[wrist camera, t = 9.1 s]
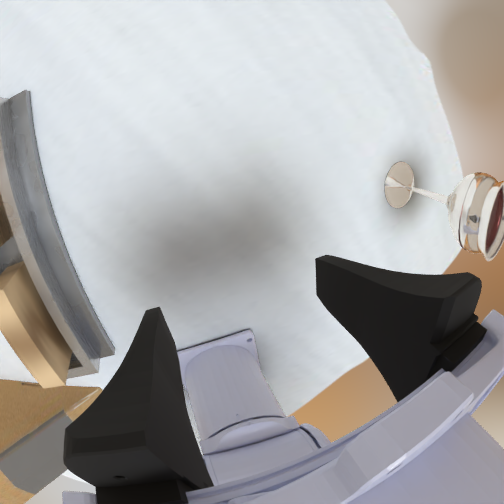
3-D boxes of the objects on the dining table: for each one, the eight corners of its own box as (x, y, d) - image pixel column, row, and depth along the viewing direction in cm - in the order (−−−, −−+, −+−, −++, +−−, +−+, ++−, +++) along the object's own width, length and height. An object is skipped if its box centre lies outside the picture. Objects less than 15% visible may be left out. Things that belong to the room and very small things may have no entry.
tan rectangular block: (73, 347, 19) (65, 385, 15) (53, 351, 18) (43, 388, 14) (27, 259, 15) (2, 289, 11) (6, 267, 14) (-19, 297, 10)
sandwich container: (121, 427, 25) (137, 536, 12) (21, 419, 20) (12, 513, 7) (102, 384, 22) (108, 522, 9) (-9, 375, 17) (-35, 482, 4)
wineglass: (396, 140, 22) (504, 162, 12) (425, 175, 26) (515, 205, 15) (368, 197, 24) (477, 243, 13) (402, 226, 27) (490, 272, 17)
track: (114, 348, 21) (112, 394, 16) (41, 364, 19) (30, 405, 14) (29, 91, 11) (-6, 80, 7) (-49, 143, 9) (-87, 150, 4)
